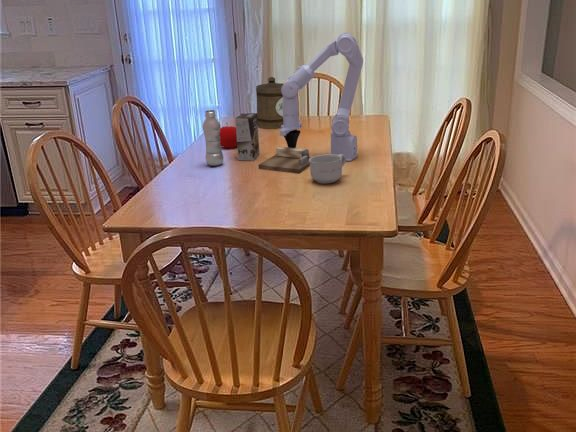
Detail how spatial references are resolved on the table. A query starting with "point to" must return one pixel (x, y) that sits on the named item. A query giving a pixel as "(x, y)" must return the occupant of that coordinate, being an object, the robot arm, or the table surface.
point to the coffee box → (247, 136)
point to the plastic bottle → (212, 139)
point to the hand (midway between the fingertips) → (292, 150)
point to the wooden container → (269, 105)
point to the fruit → (228, 137)
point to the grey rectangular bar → (291, 152)
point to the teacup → (326, 167)
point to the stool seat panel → (286, 164)
